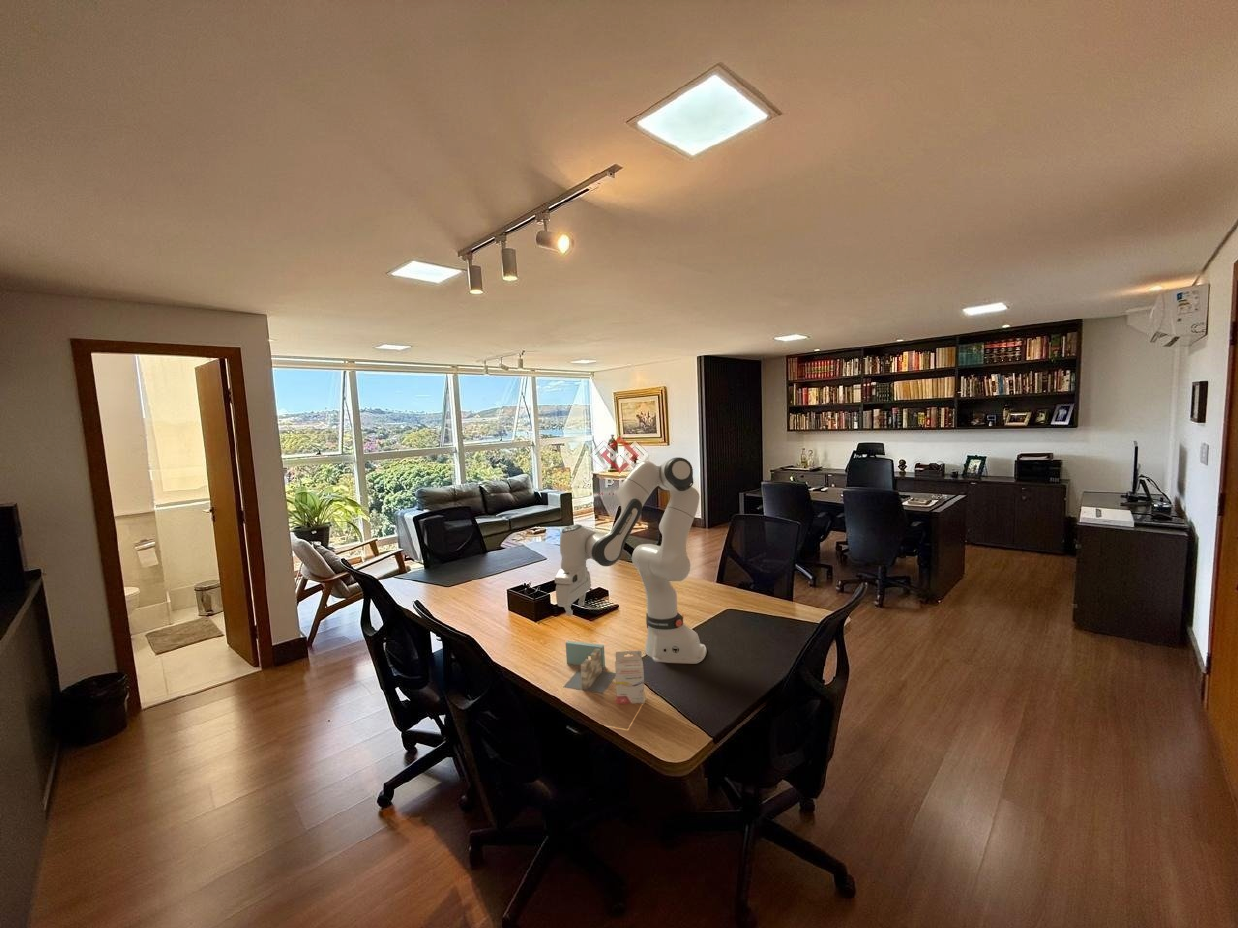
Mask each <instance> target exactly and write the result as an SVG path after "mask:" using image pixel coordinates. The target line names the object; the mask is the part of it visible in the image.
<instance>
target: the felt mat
mask: <svg viewBox="0 0 1238 928" xmlns="http://www.w3.org/2000/svg"><path fill="white" fill-rule="evenodd" d="M614 679H616V672H611V671H605V670H602V672H601V673H600V675H599V676H598V677H597V678H596V680H595V681H594V682H593V683H592V685H591V686H590V687H589V688H588V690H583V689H582V679H581V667H580V668H578V670H577V671H576V672H574V674H573V675H572V676H571V677H570V679H569V680H568V681H567V682H566V683H565V684H564V685H563V688H566V689H571V690H578V691H584V692H590V693H597V694H603V695H604V693H605V692H606V690H607V689H608V688H609V686H610V684H611V683H612V682H613V681H614Z"/></svg>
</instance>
